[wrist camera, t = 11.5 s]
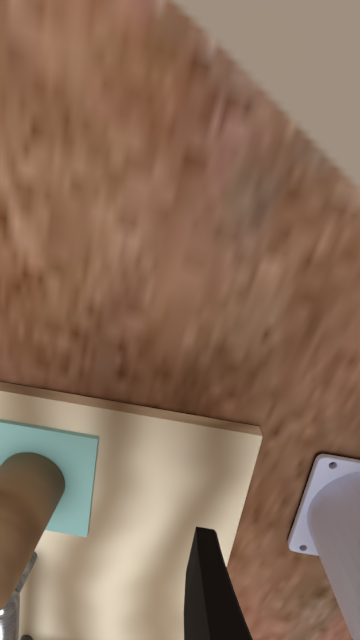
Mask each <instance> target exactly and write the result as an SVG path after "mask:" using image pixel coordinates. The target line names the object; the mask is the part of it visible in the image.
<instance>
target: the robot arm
mask: <svg viewBox="0 0 360 640" xmlns="http://www.w3.org/2000/svg"><path fill="white" fill-rule="evenodd" d="M331 462H334V463H333V464H330V463H331ZM329 464H330V465H329ZM288 546H289V549H290V550H291V551H294V552H299V553H305V554H311V555H317V556H319V557H320V560H321V562H322V565H323V567H324V570H325V572H326V575H327V577H328V580H329V582H330V585H331V588H332V590H333V593H334V595H335V598H336V600H337V603H338V605H339V608H340V610H341V613H342V615H343V618H344V620H345V623H346V625H347V628H348V630H349V633H350V635H351V638H352V640H360V460H357V459H351V458H346V457H340V456H334V455H328V454H320V455H318V456H317V457H316V459H315V462H314V465H313V468H312V471H311V473H310V476H309V479H308V482H307V485H306V488H305V491H304V494H303V497H302V500H301V503H300V506H299V509H298V512H297V515H296V518H295V521H294V524H293V526H292V529H291V532H290V535H289V538H288ZM184 640H253V639H252V637H251V634H250V632H249V629H248V627H247V624H246V622H245V619H244V617H243V614H242V611H241V608H240V606H239V603H238V600H237V598H236V595H235V592H234V589H233V586H232V583H231V580H230V577H229V574H228V571H227V568H226V565H225V562H224V558H223V555H222V552H221V548H220V544H219V541H218V537H217V533H216V531H215V530H214V529H208V528H203V527H197V526H196V529H195V533H194V538H193V542H192V547H191V551H190V556H189V560H188V565H187V569H186V579H185V596H184Z"/></svg>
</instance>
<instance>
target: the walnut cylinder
mask: <svg viewBox="0 0 360 640" xmlns="http://www.w3.org/2000/svg"><path fill="white" fill-rule="evenodd" d="M64 490H65V479H64V476H63V474H62V472H61V470H60V469H59V468H58V466H57V465H56V464H55V463H53V462H52V461H51V460H49V459H48V458H46V457H44V456H42V455H39V454H35V453H18V454H15V455H12V456H10V457H9V458H7V459H6V460H5V461H4V462H3V463H2V465H1V466H0V610H1V609H3V608H4V607H5V606H6V605H7V603H8V601H9V599H10V598H11V596H12V594H13V592H14V590H15V588H16V586H17V584H18V582H19V580H20V578H21V576H22V574H23V572H24V570H25V568H26V566H27V564H28V562H29V560H30V558H31V556H32V554H33V552H34V550H35V548H36V546H37V544H38V542H39V540H40V538H41V536H42V535H43V533H44V531H45V529H46V527H47V525H48V523H49V521H50V519H51V517H52V515H53V513H54V511H55V509H56V507H57V505H58V503H59V501H60V499H61V497H62V495H63V493H64Z"/></svg>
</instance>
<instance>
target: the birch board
mask: <svg viewBox="0 0 360 640" xmlns="http://www.w3.org/2000/svg"><path fill="white" fill-rule="evenodd" d="M0 419H3V420H9V421H14V422H20V423H26V424H32V425H38V426H43V427H49V428H55V429H61V430H66V431H72V432H78V433H84V434H90V435H95V436H99V443H98V452H97V461H96V470H95V479H94V488H93V497H92V506H91V515H90V524H89V533H88V536H87V537H82V536H76V535H70V534H65V533H59V532H53V531H47V530H45V531H44V533H43V535H42V536H41V538H40V540H39V542H38V544H37V546H36V548H35V550H34V552H36V553H37V556H38V557H37V560H36V562H35V564H34V566H33V568H32V570H31V572H30V574H29V576H28V578H27V580H26V582H25V584H24V586H23V588H22V590H21V592H20V594H19V595H20V613H19V640H20V638H21V636H22V635H30V636H31V637H32V638H33V640H184V596H185V579H186V569H187V565H188V560H189V556H190V551H191V547H192V542H193V538H194V533H195V529H196V526H197V527H203V528H208V529H214V530H215V531H216V533H217V537H218V541H219V544H220V548H221V552H222V555H223V558H224V562H225V565H226V567H227V563H228V560H229V556H230V553H231V549H232V546H233V542H234V538H235V535H236V531H237V528H238V524H239V520H240V517H241V513H242V510H243V506H244V502H245V499H246V495H247V492H248V488H249V484H250V481H251V477H252V474H253V470H254V466H255V463H256V459H257V456H258V452H259V448H260V445H261V441H262V438H263V435H262V432H261V430H260V427H259V426H254V425H248V424H242V423H236V422H231V421H225V420H219V419H213V418H208V417H202V416H196V415H190V414H184V413H179V412H173V411H167V410H161V409H156V408H150V407H144V406H138V405H132V404H127V403H121V402H115V401H109V400H104V399H98V398H92V397H86V396H80V395H75V394H69V393H63V392H57V391H52V390H46V389H40V388H34V387H28V386H23V385H17V384H11V383H5V382H0Z"/></svg>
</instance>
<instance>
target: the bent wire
mask: <svg viewBox="0 0 360 640" xmlns="http://www.w3.org/2000/svg"><path fill="white" fill-rule="evenodd" d="M37 557H38V556H37V553H36V552H33V554H32V556H31V558H30V560H29V562H28V564H27V566H26V568H25V570H24V572H23V574H22V576H21V578H20V580H19V582H18V584H17V586H16V588H15V590H14V592H13V594H12V596H11V598H10V599H9V601H8V603H7V605H6V606H5V607H4V608H3V609H1V610H0V640H19V613H20V595H19V594H20V592H21V590H22V588H23V586H24V584H25V582H26V580H27V578H28V576H29V574H30V572H31V570H32V568H33V566H34V564H35V562H36V560H37ZM20 640H33V638H32V637H31V636H30V635H22V636H21V638H20Z"/></svg>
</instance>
